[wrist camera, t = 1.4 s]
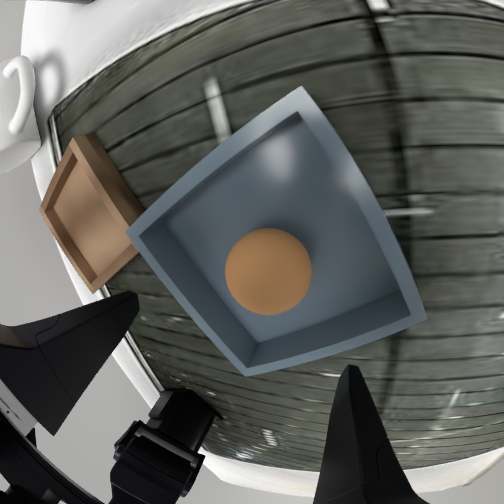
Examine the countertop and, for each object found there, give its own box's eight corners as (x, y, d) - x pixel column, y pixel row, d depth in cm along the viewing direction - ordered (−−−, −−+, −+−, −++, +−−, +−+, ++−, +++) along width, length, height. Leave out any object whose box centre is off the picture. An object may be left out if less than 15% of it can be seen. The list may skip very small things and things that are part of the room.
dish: (417, 287, 15) (427, 319, 12) (257, 347, 21) (245, 376, 19) (309, 93, 12) (301, 85, 9) (154, 214, 19) (125, 231, 16)
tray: (161, 234, 19) (144, 247, 17) (107, 282, 24) (92, 294, 22) (94, 132, 17) (72, 137, 15) (55, 202, 22) (39, 210, 20)
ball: (330, 266, 16) (323, 316, 12) (269, 294, 18) (247, 342, 14) (288, 201, 15) (267, 233, 11) (228, 238, 17) (193, 276, 13)
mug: (26, 165, 22) (-29, 188, 15) (12, 96, 18) (-40, 109, 11) (74, 112, 17) (-6, 130, 10) (60, 31, 13) (-10, 32, 7)
